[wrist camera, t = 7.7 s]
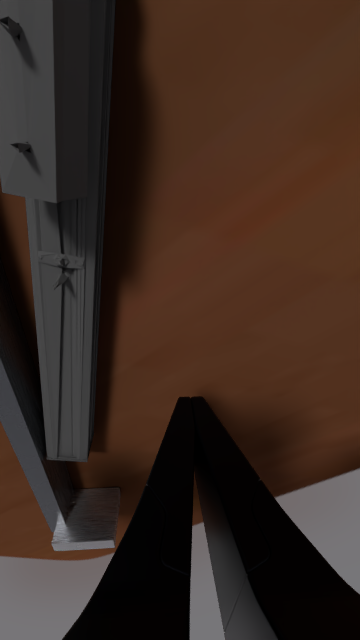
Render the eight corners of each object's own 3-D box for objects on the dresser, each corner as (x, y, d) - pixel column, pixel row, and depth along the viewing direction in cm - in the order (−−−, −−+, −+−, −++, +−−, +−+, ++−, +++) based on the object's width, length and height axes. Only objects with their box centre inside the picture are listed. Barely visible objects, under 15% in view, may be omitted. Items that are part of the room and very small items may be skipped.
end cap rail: (16, -159, 6) (-92, -385, 3) (120, 495, 20) (114, 547, 17) (-191, -179, 6) (-474, -438, 3) (61, 497, 19) (46, 551, 17)
